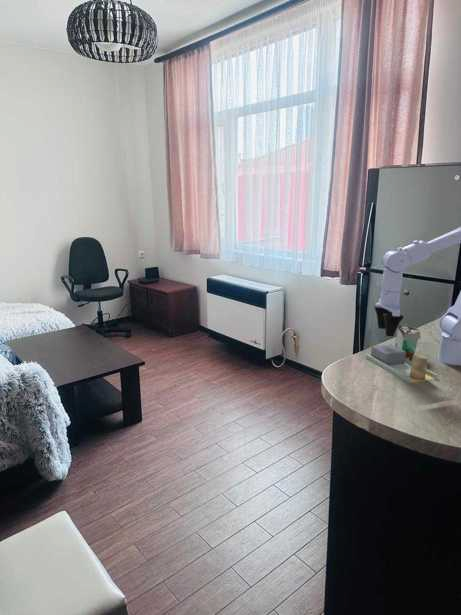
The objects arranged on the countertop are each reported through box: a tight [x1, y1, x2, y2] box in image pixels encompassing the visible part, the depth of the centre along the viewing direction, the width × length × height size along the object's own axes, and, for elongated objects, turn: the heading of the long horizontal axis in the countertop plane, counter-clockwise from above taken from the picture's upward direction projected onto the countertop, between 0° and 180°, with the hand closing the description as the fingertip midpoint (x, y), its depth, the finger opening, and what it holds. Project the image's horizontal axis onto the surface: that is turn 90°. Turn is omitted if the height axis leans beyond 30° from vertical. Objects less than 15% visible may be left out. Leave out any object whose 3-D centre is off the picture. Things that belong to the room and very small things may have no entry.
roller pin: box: [410, 354, 428, 380], centre depth 122 cm, size 4×4×6 cm
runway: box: [364, 353, 438, 384], centre depth 130 cm, size 10×20×2 cm, turn 19°
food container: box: [394, 323, 421, 360], centre depth 140 cm, size 12×6×10 cm, turn 169°
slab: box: [370, 344, 406, 366], centre depth 135 cm, size 8×7×4 cm
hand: (385, 332), depth 135 cm, fingers open, 7 cm apart
